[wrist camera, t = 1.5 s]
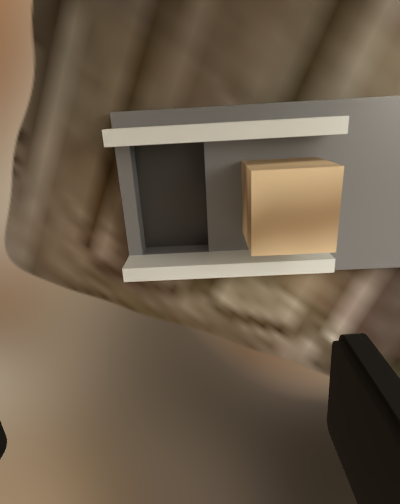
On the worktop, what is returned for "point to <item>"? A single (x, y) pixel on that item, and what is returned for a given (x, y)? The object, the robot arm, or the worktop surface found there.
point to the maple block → (291, 205)
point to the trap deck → (230, 184)
